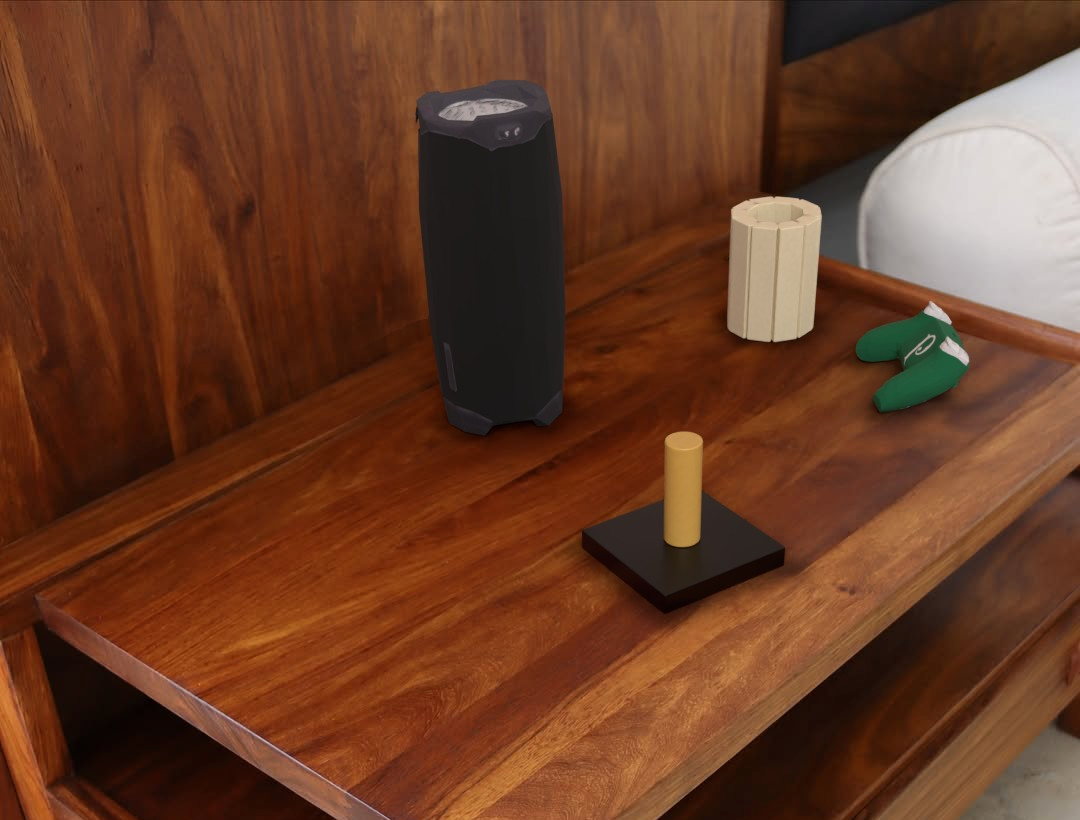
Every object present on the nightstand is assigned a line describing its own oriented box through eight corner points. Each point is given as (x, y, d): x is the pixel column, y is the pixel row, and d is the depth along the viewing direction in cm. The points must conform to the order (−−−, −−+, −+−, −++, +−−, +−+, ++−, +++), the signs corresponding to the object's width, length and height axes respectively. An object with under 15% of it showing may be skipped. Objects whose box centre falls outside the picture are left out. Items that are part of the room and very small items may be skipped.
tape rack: (696, 504, 85) (699, 391, 80) (784, 565, 79) (792, 447, 75) (581, 547, 82) (578, 432, 77) (664, 614, 76) (665, 494, 72)
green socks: (907, 442, 93) (985, 379, 90) (870, 404, 91) (947, 339, 89) (884, 378, 100) (955, 318, 97) (848, 342, 99) (919, 280, 96)
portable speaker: (536, 368, 100) (522, 66, 87) (592, 426, 93) (586, 107, 81) (418, 395, 97) (387, 87, 85) (467, 455, 91) (441, 131, 78)
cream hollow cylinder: (775, 299, 107) (781, 189, 102) (831, 327, 103) (840, 214, 98) (709, 320, 105) (712, 209, 100) (763, 350, 100) (769, 235, 95)
